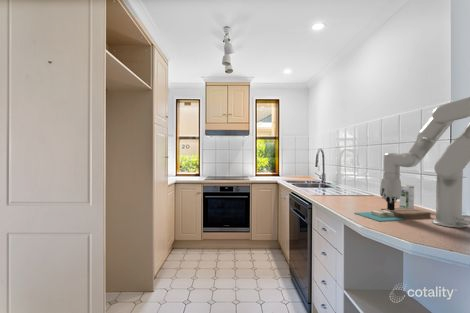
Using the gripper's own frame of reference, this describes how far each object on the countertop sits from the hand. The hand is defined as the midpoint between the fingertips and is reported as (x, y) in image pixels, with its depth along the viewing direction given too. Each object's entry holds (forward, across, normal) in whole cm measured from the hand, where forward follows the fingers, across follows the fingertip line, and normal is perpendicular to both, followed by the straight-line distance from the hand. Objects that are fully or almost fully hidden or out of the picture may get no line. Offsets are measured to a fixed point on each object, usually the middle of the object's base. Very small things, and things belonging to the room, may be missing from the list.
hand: (390, 209), depth 139 cm
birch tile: (+3, +5, 0) cm, 6 cm away
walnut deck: (+3, -9, 0) cm, 10 cm away
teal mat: (+3, +8, 0) cm, 9 cm away
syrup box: (+4, -27, -16) cm, 32 cm away
